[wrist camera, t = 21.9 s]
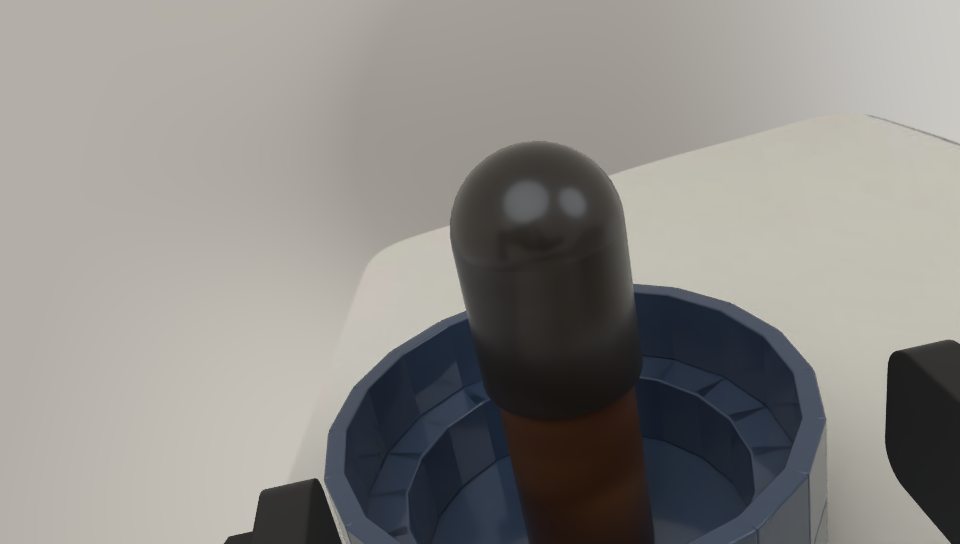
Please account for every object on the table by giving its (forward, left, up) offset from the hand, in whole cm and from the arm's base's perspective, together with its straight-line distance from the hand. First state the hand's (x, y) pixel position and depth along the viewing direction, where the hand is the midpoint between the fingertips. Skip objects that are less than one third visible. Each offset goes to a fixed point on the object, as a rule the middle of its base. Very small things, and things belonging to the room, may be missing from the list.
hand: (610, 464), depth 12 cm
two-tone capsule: (+1, +11, -12) cm, 17 cm away
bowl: (+1, +11, -13) cm, 17 cm away
